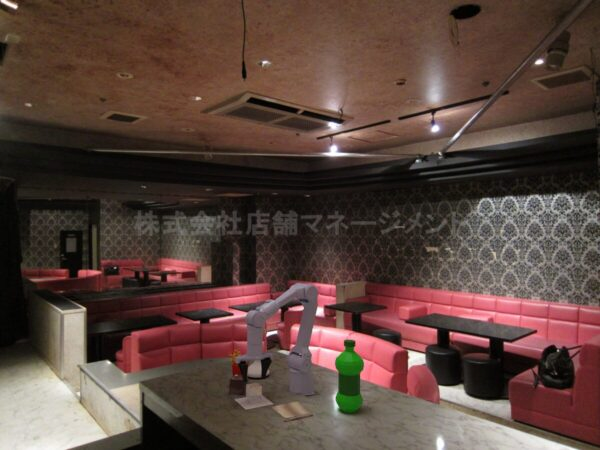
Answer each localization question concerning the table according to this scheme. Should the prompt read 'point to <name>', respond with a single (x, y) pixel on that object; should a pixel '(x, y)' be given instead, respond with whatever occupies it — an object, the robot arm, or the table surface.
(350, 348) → the plastic bottle
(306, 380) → the robot arm
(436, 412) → the table surface
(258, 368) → the flower in vase
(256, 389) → the block
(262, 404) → the stand
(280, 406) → the stand
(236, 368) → the french fries
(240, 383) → the box
